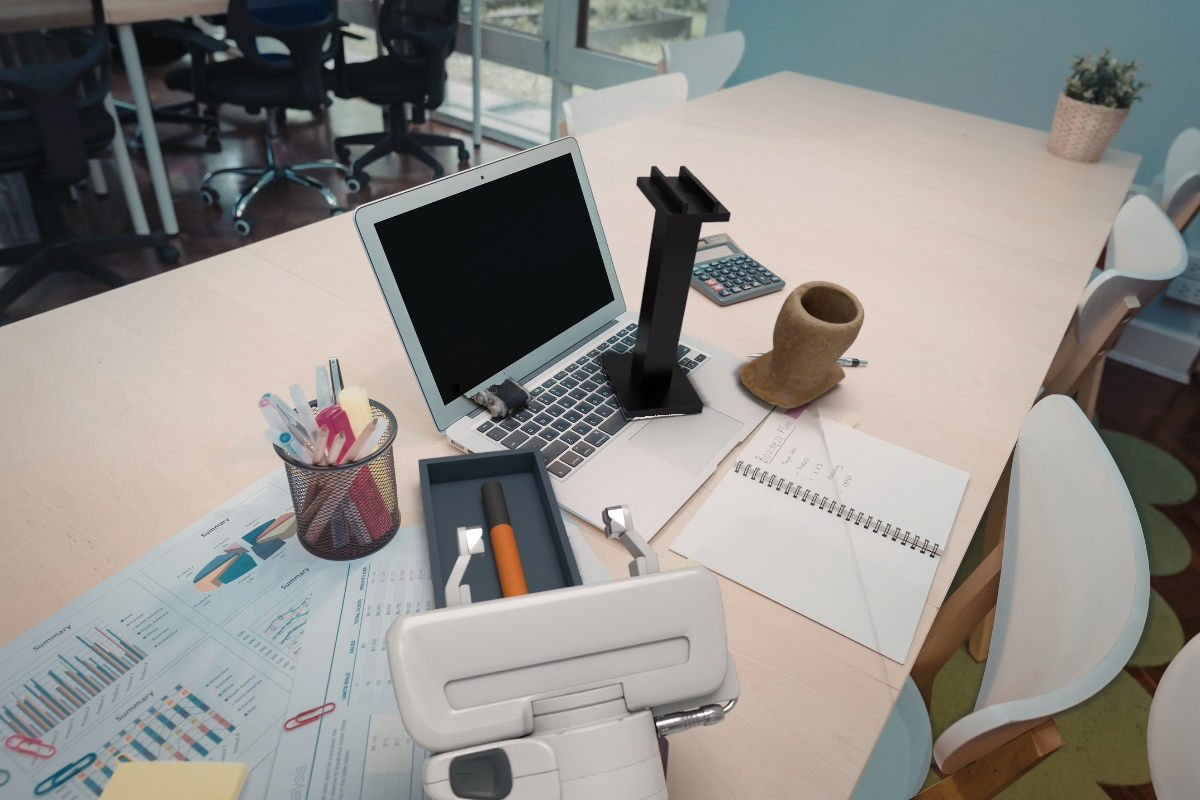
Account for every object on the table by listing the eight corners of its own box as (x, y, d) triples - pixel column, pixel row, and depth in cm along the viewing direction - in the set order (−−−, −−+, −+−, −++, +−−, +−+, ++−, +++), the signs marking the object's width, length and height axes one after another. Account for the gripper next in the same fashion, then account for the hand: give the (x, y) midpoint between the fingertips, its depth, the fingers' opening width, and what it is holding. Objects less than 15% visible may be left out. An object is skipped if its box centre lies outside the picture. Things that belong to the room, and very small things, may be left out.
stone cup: (795, 431, 89) (830, 328, 80) (724, 382, 96) (749, 281, 87) (865, 391, 98) (904, 293, 89) (795, 348, 104) (825, 253, 95)
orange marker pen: (532, 669, 61) (549, 653, 60) (512, 664, 59) (528, 648, 59) (493, 498, 75) (506, 484, 75) (476, 491, 74) (488, 477, 73)
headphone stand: (701, 413, 90) (751, 205, 74) (625, 421, 88) (658, 207, 71) (668, 358, 99) (706, 162, 83) (598, 364, 97) (622, 162, 80)
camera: (501, 425, 85) (501, 397, 82) (446, 384, 90) (445, 356, 87) (533, 408, 88) (534, 380, 85) (479, 369, 93) (478, 341, 90)
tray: (601, 679, 61) (605, 655, 58) (448, 711, 57) (446, 686, 55) (538, 469, 80) (539, 445, 77) (419, 483, 76) (418, 459, 74)
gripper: (769, 718, 41) (712, 483, 46) (396, 804, 36) (374, 529, 41) (727, 716, 47) (680, 507, 52) (400, 790, 42) (381, 550, 46)
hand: (543, 517), depth 46 cm, fingers open, 8 cm apart
